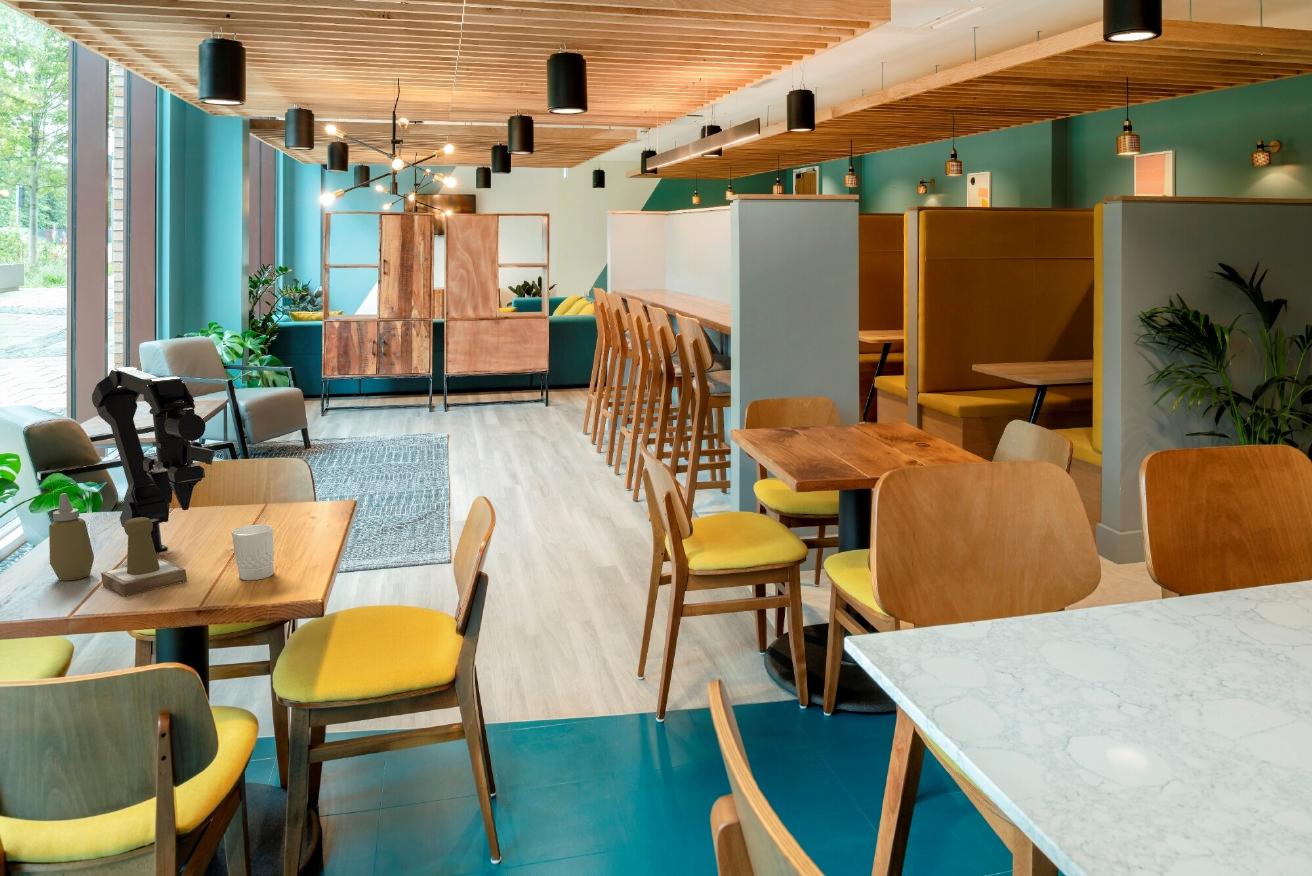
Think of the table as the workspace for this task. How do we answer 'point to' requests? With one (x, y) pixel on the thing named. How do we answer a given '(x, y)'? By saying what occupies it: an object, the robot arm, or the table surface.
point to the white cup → (254, 551)
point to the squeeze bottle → (69, 543)
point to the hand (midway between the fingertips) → (177, 506)
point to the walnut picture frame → (143, 578)
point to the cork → (140, 547)
